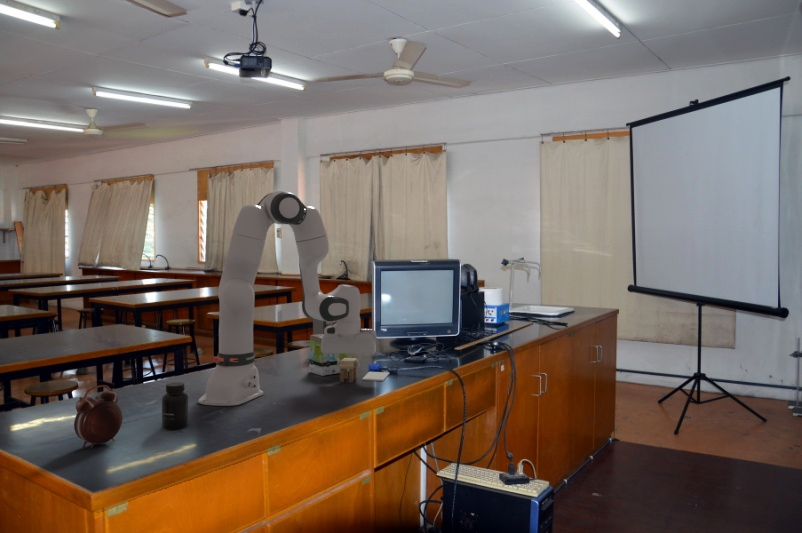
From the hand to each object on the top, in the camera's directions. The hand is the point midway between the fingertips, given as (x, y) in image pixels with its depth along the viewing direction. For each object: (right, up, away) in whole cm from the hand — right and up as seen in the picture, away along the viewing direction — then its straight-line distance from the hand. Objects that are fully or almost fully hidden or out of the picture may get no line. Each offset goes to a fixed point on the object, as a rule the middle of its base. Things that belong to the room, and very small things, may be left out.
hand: (348, 365), depth 224 cm
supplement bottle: (-43, -8, -56) cm, 71 cm away
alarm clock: (-57, -9, -71) cm, 91 cm away
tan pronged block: (0, -5, 0) cm, 5 cm away
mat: (+10, -5, +6) cm, 13 cm away
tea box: (-8, -5, +15) cm, 17 cm away
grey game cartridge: (-14, -3, +53) cm, 55 cm away
